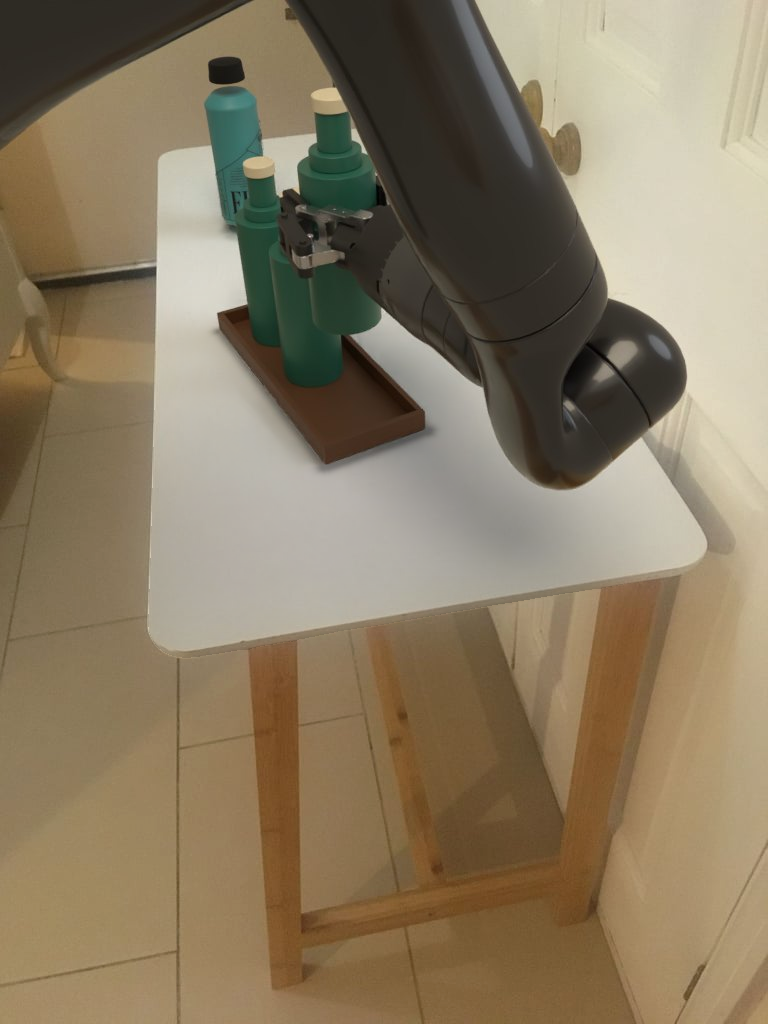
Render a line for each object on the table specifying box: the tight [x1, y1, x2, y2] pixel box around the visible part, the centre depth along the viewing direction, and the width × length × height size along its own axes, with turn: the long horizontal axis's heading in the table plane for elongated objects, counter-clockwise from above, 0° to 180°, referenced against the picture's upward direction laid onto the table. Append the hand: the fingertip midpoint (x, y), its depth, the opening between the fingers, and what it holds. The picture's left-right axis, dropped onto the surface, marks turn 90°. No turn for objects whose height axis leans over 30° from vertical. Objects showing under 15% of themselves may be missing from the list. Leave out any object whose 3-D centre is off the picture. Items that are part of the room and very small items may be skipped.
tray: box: [216, 303, 426, 465], centre depth 87 cm, size 27×10×2 cm, turn 28°
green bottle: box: [296, 87, 383, 336], centre depth 68 cm, size 6×6×18 cm
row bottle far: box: [234, 156, 281, 347], centre depth 87 cm, size 6×6×18 cm
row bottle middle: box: [269, 187, 343, 387], centre depth 81 cm, size 6×6×18 cm
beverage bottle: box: [203, 56, 265, 227], centre depth 106 cm, size 6×7×20 cm
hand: (325, 192), depth 69 cm, fingers closed on green bottle, 6 cm apart
